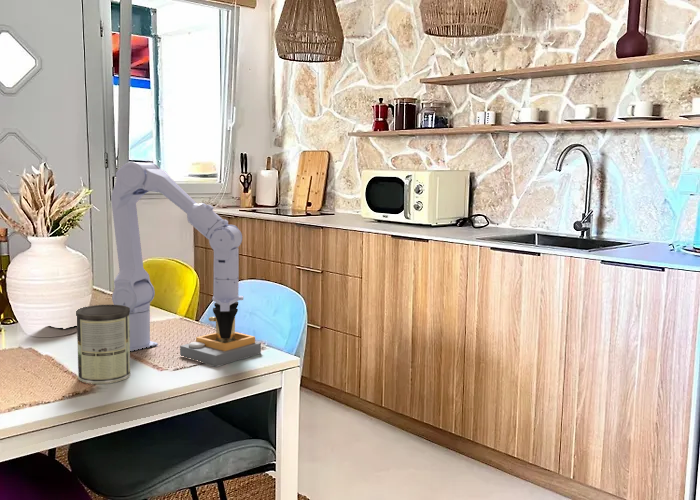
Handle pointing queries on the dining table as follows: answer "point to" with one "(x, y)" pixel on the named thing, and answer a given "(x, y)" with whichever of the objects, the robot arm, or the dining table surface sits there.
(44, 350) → the dining table surface
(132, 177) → the robot arm
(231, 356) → the grey base with frame
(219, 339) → the spout can
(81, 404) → the dining table surface
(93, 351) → the coffee can
